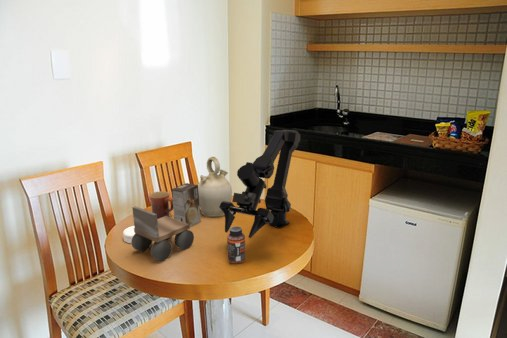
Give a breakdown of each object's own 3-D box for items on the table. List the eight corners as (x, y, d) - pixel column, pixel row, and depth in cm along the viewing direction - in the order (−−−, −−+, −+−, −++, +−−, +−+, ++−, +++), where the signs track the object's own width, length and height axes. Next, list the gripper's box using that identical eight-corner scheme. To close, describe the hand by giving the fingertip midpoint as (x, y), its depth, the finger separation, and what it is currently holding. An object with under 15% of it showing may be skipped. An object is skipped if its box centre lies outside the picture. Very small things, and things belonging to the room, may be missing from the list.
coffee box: (189, 218, 165) (186, 182, 161) (201, 221, 162) (198, 184, 158) (174, 226, 158) (171, 188, 154) (186, 229, 155) (183, 191, 150)
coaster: (124, 234, 152) (123, 226, 151) (150, 231, 154) (150, 223, 153) (123, 245, 143) (122, 237, 142) (151, 242, 145) (150, 233, 144)
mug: (146, 218, 166) (144, 196, 163) (161, 211, 173) (159, 190, 170) (167, 224, 160) (164, 200, 157) (181, 217, 167) (179, 194, 164)
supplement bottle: (243, 265, 127) (242, 233, 124) (225, 263, 128) (224, 232, 125) (247, 256, 133) (246, 225, 130) (230, 254, 134) (229, 224, 131)
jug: (225, 203, 182) (223, 151, 175) (238, 214, 168) (235, 158, 161) (193, 208, 176) (190, 155, 169) (203, 221, 162) (200, 163, 155)
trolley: (170, 235, 150) (167, 194, 145) (194, 245, 141) (191, 201, 137) (132, 252, 137) (127, 208, 132) (156, 264, 129) (151, 217, 124)
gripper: (220, 178, 133) (203, 220, 127) (269, 186, 125) (253, 230, 118) (233, 193, 142) (218, 233, 136) (280, 201, 133) (265, 244, 127)
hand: (237, 234), depth 129 cm, fingers open, 9 cm apart
